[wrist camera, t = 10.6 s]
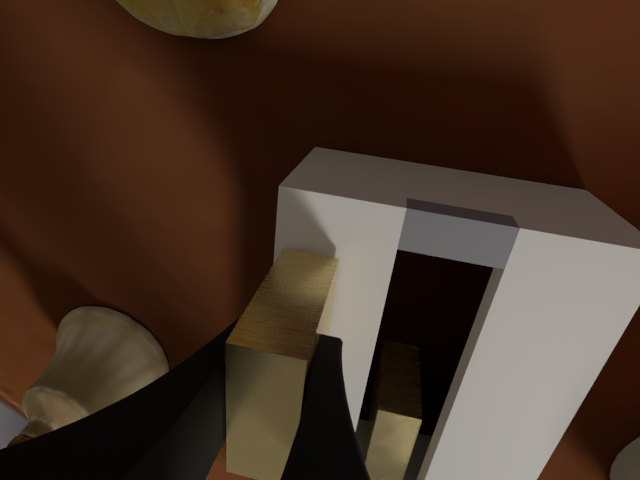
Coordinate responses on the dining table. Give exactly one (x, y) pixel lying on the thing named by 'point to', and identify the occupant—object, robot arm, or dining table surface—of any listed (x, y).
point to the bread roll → (201, 16)
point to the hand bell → (91, 369)
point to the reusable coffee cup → (627, 463)
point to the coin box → (497, 303)
